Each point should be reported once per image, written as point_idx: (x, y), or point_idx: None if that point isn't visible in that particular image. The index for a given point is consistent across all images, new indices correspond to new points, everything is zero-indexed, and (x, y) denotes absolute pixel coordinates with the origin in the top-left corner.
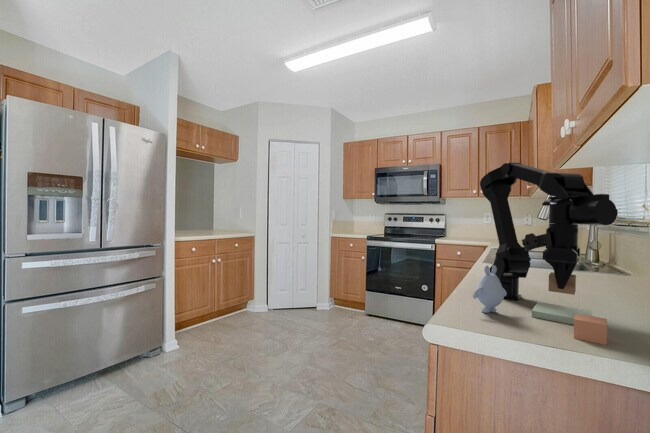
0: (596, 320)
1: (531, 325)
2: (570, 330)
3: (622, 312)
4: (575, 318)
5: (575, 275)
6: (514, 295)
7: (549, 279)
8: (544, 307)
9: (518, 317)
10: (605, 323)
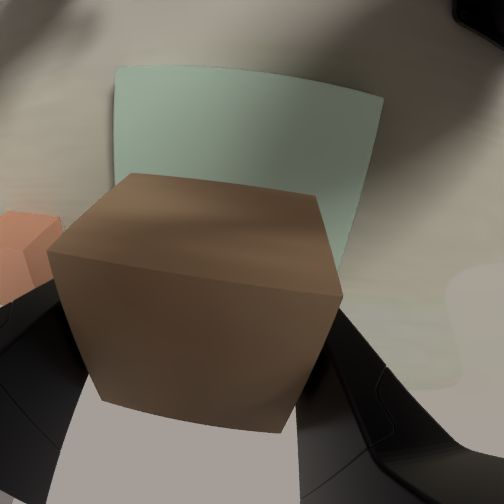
0: (8, 291)
1: (20, 97)
2: (57, 206)
3: (422, 362)
4: None
5: (248, 429)
6: (485, 12)
7: (78, 227)
8: (240, 119)
9: (83, 29)
10: (4, 303)
